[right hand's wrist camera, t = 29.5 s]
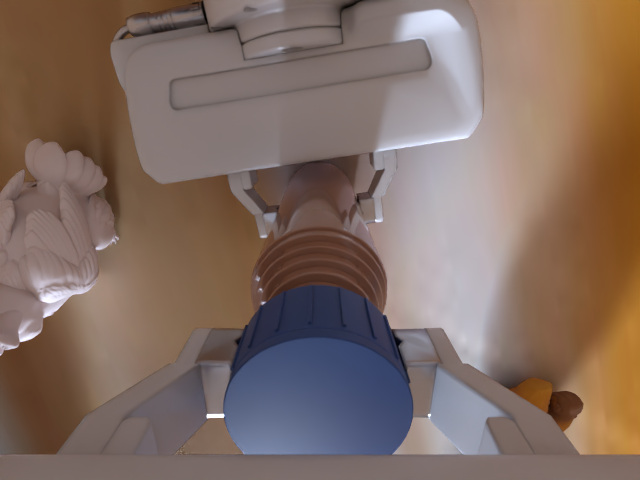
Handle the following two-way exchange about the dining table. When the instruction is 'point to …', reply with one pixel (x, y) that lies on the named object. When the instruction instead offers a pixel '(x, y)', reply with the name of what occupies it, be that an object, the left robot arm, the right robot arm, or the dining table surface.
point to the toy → (561, 403)
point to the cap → (318, 378)
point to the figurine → (49, 237)
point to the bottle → (319, 241)
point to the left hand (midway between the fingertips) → (322, 227)
